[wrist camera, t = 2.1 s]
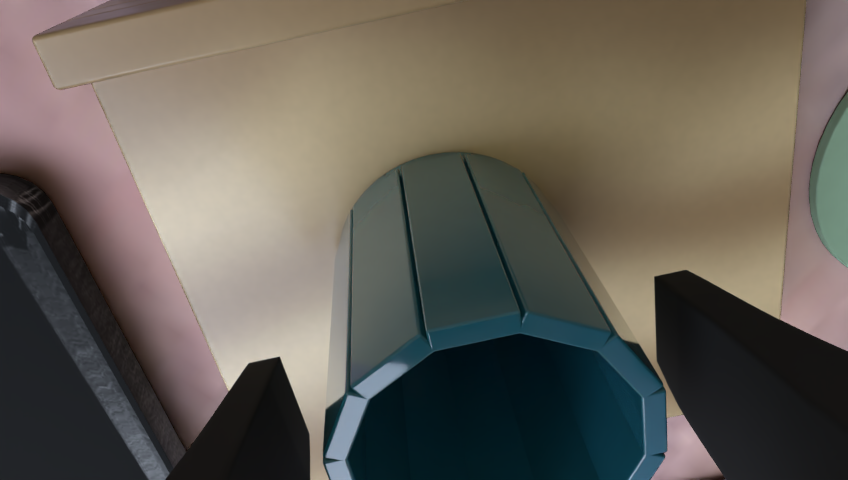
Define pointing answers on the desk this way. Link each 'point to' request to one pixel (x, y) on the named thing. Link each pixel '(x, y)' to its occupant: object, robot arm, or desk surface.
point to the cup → (479, 339)
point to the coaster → (832, 185)
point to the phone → (67, 361)
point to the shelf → (441, 141)
